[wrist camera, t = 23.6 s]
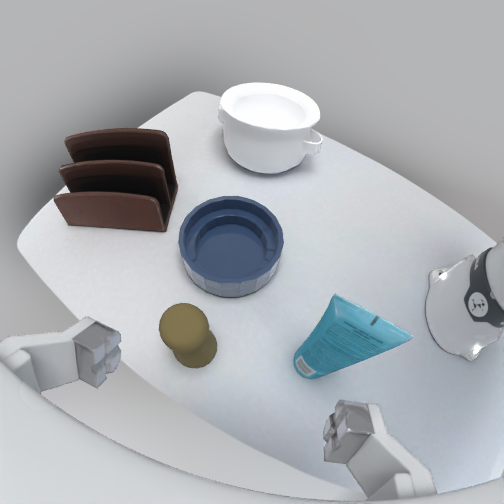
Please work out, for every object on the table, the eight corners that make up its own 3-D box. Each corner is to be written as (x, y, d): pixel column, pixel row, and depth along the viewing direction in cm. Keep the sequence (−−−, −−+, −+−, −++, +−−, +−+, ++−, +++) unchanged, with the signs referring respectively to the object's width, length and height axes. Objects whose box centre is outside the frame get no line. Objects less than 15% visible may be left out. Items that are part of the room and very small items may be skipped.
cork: (165, 334, 36) (143, 307, 27) (205, 318, 38) (197, 285, 29) (183, 375, 34) (164, 362, 24) (224, 357, 35) (222, 338, 26)
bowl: (258, 207, 48) (261, 187, 44) (292, 281, 42) (299, 265, 38) (175, 228, 45) (170, 209, 41) (197, 310, 39) (193, 297, 34)
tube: (340, 355, 36) (419, 308, 20) (328, 386, 34) (407, 363, 18) (292, 335, 38) (342, 273, 21) (278, 366, 35) (322, 329, 19)
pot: (194, 156, 54) (190, 105, 44) (239, 118, 62) (242, 73, 52) (294, 201, 50) (309, 148, 39) (326, 152, 58) (341, 106, 48)
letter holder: (87, 185, 49) (63, 131, 37) (178, 187, 50) (168, 123, 38) (68, 226, 44) (34, 172, 32) (166, 233, 45) (148, 168, 32)
